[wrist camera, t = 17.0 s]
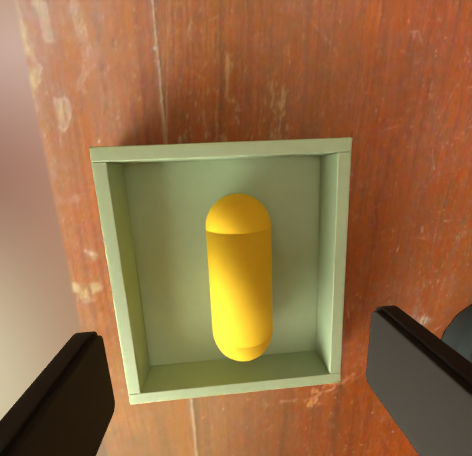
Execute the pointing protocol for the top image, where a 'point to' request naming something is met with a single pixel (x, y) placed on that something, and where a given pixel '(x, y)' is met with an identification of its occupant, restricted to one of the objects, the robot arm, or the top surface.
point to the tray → (196, 260)
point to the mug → (460, 334)
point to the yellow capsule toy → (240, 275)
